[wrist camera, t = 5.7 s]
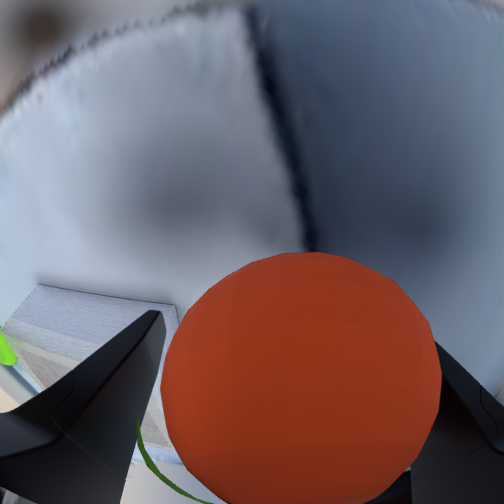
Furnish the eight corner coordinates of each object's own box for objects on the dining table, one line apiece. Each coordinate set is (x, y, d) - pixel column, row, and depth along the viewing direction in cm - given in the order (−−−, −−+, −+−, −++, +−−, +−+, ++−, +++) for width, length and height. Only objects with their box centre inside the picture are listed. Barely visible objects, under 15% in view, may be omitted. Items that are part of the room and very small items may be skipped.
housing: (175, 305, 17) (145, 379, 12) (197, 401, 23) (186, 453, 18) (38, 284, 17) (-1, 331, 12) (87, 376, 23) (68, 417, 19)
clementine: (204, 369, 12) (173, 518, 6) (137, 234, 9) (5, 434, 2) (386, 348, 10) (421, 506, 4) (398, 188, 7) (563, 413, 1)
